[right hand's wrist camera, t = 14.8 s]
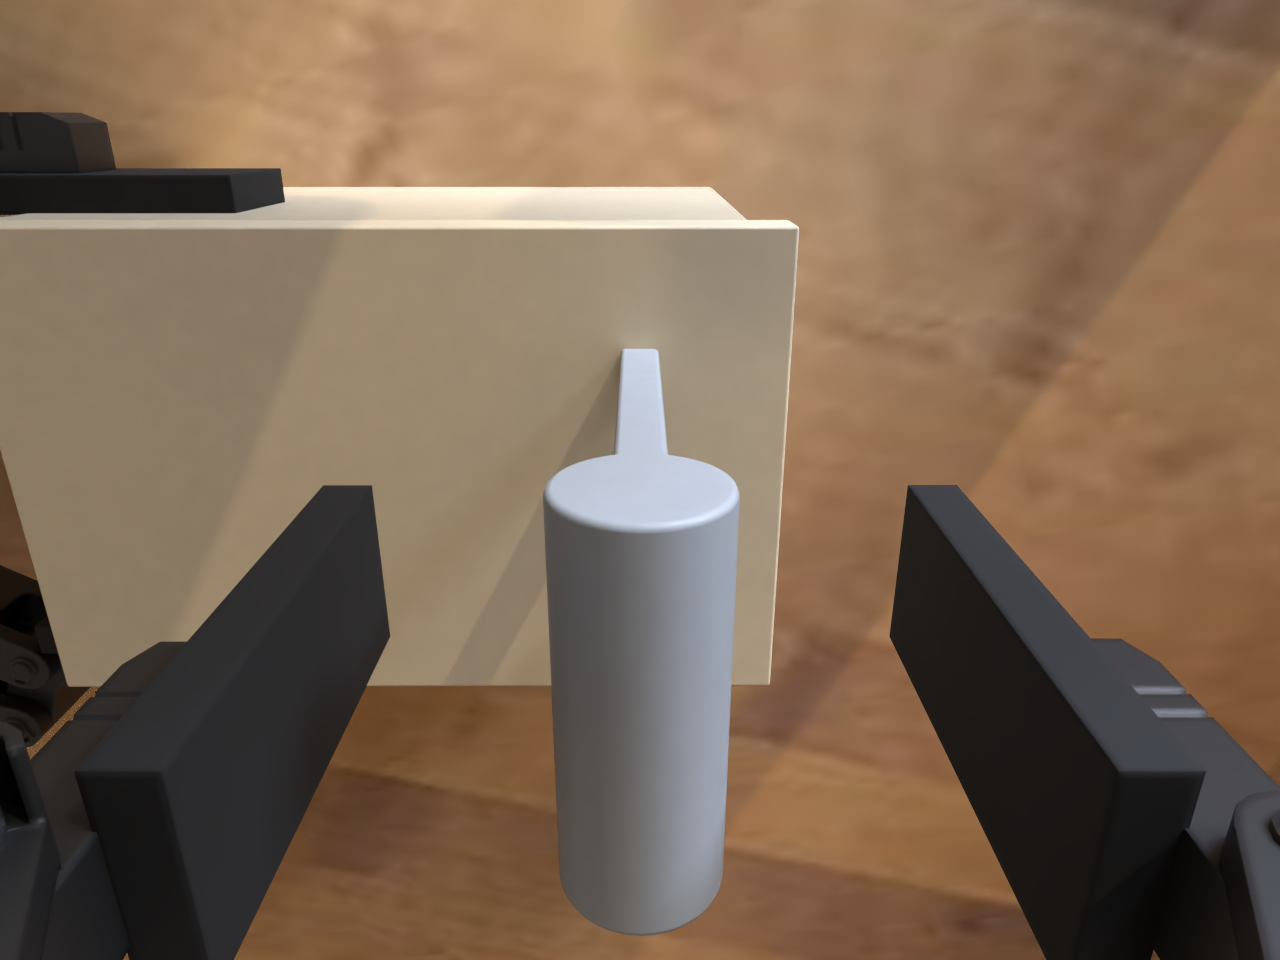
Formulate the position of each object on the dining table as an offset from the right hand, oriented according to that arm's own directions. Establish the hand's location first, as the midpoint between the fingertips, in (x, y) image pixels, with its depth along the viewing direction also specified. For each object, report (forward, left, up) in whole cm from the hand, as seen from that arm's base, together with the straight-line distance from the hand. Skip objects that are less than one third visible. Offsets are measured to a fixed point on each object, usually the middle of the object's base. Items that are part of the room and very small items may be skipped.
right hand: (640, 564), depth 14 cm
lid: (+2, -4, -5) cm, 7 cm away
